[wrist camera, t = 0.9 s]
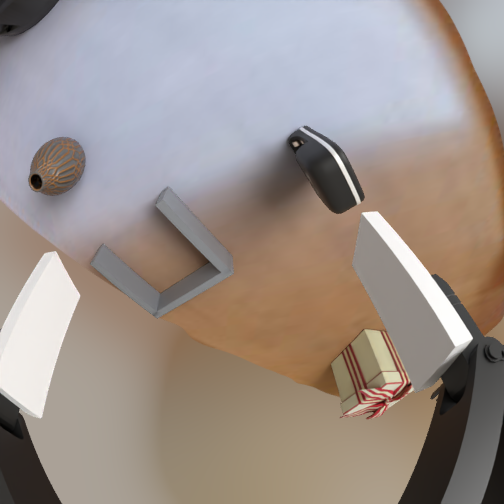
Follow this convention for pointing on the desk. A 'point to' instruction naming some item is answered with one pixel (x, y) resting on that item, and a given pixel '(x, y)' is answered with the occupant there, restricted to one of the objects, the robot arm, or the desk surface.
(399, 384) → the gift box
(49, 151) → the vase
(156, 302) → the box
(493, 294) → the desk surface
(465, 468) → the robot arm
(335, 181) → the battery charger
